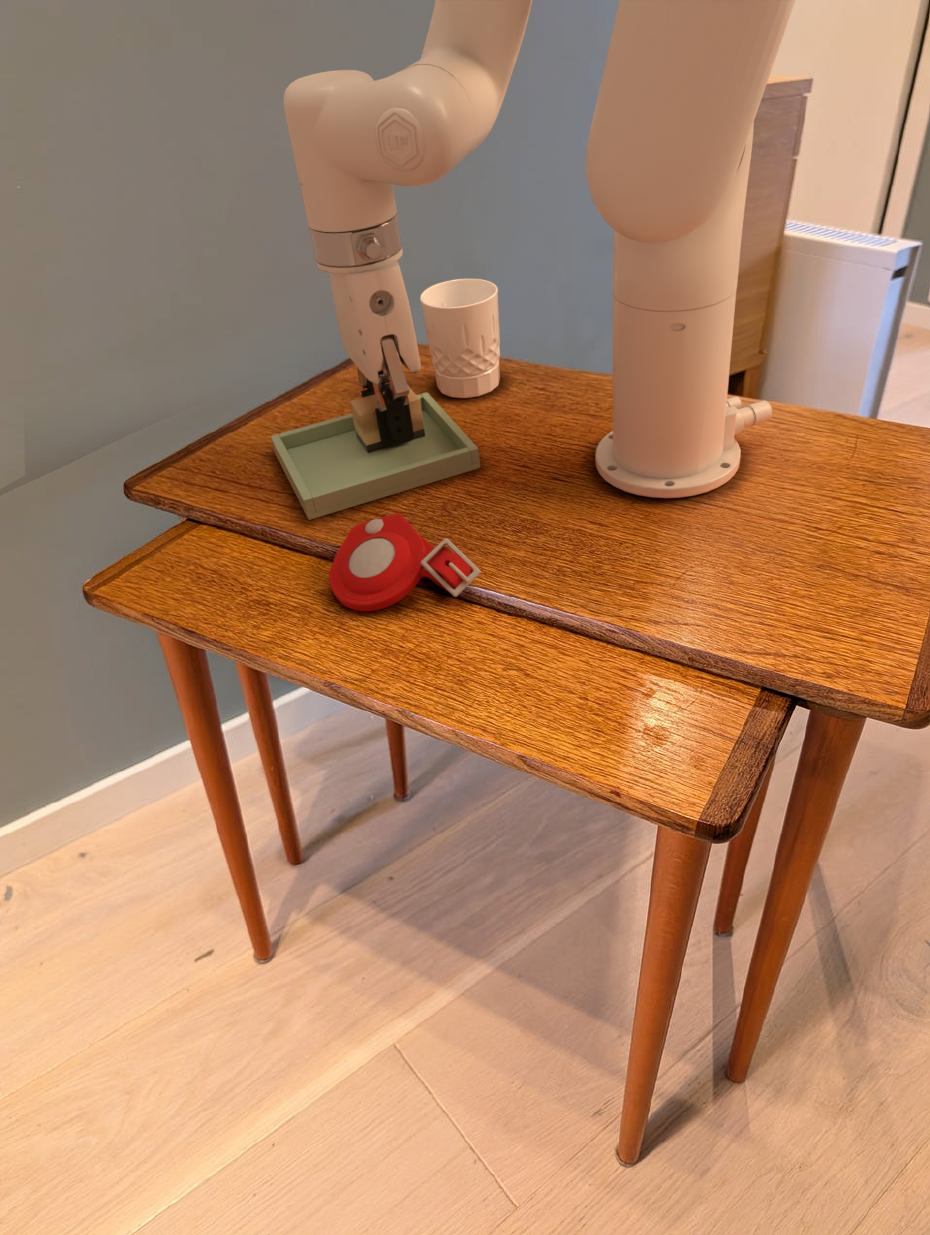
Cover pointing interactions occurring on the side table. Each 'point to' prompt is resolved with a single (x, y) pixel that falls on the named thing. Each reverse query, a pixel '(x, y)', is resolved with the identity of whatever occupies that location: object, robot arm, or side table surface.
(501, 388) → the side table surface
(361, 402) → the eraser
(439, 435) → the tray
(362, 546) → the tracker holder
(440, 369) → the white cup
